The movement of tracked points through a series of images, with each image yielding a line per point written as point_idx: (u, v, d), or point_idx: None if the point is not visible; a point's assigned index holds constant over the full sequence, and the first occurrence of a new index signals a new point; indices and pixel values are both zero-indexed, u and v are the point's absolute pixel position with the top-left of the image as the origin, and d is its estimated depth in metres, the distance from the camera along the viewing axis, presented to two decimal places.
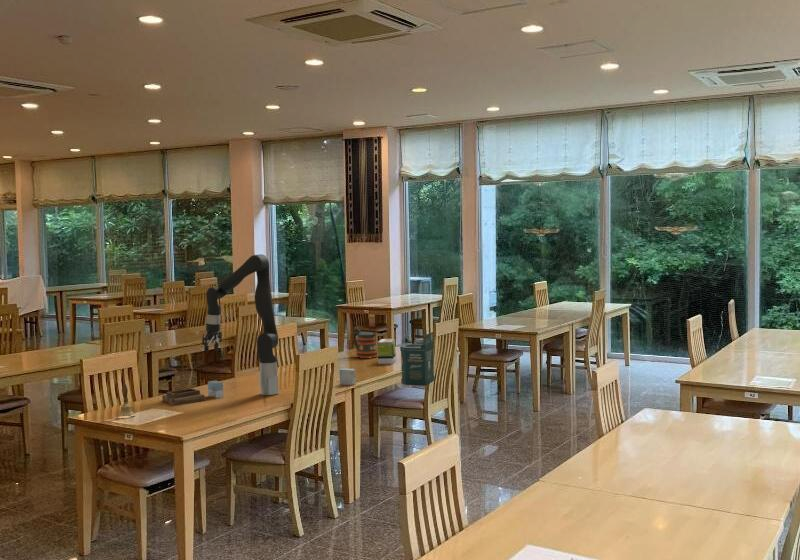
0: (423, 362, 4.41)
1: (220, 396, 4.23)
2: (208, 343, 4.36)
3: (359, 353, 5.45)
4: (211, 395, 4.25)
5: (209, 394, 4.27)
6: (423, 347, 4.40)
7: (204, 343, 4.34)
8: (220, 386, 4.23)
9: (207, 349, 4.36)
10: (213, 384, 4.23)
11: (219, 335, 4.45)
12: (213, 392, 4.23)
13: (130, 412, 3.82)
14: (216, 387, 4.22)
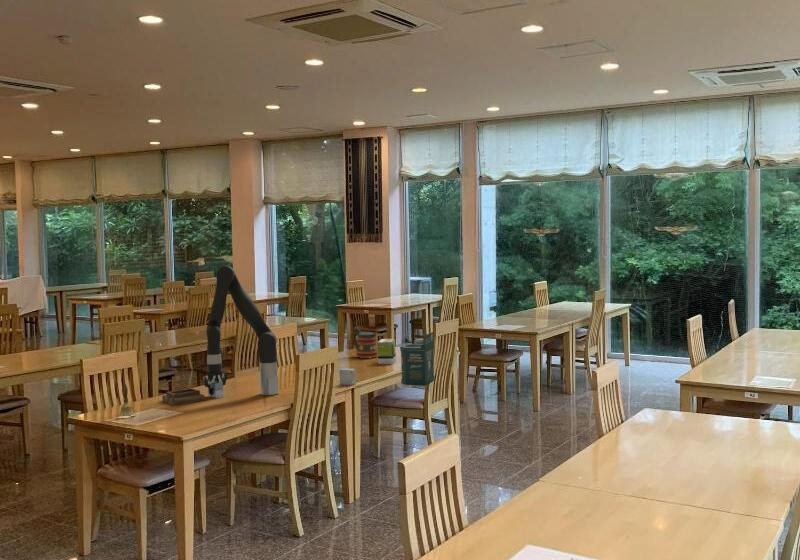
0: (423, 362, 4.41)
1: (220, 396, 4.23)
2: (210, 385, 4.23)
3: (359, 353, 5.45)
4: (211, 395, 4.25)
5: (209, 394, 4.27)
6: (423, 347, 4.40)
7: (206, 385, 4.22)
8: (220, 386, 4.23)
9: (211, 391, 4.24)
10: (213, 384, 4.23)
11: (224, 377, 4.29)
12: (213, 392, 4.23)
13: (130, 412, 3.82)
14: (216, 387, 4.22)
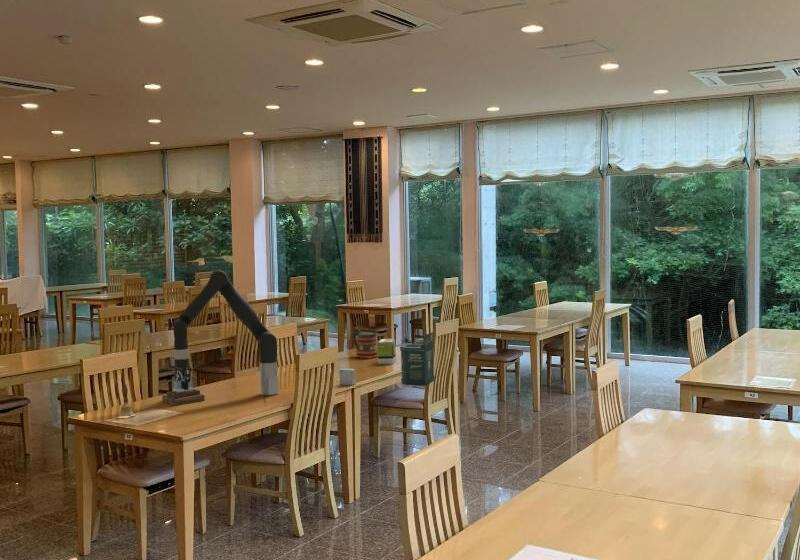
0: (423, 362, 4.41)
1: None
2: (176, 378, 4.20)
3: (359, 353, 5.45)
4: None
5: None
6: (423, 347, 4.40)
7: None
8: (176, 384, 4.14)
9: None
10: None
11: None
12: None
13: (130, 412, 3.82)
14: (174, 384, 4.16)
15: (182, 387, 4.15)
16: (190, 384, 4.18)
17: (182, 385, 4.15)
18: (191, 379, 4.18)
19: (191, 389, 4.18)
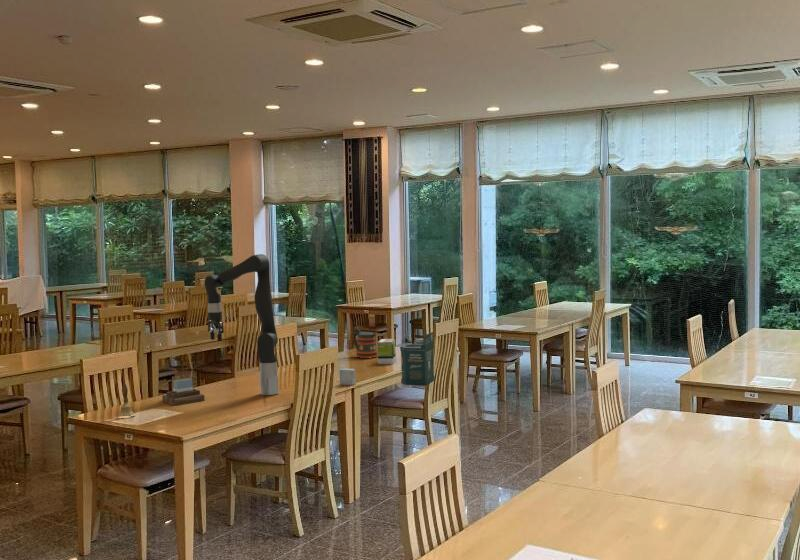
0: (423, 362, 4.41)
1: None
2: (209, 330, 4.44)
3: (359, 353, 5.45)
4: None
5: None
6: (423, 347, 4.40)
7: None
8: (176, 384, 4.14)
9: None
10: None
11: None
12: None
13: (130, 412, 3.82)
14: (174, 384, 4.16)
15: (182, 387, 4.15)
16: (190, 384, 4.18)
17: (182, 385, 4.15)
18: (191, 379, 4.18)
19: (191, 389, 4.18)
